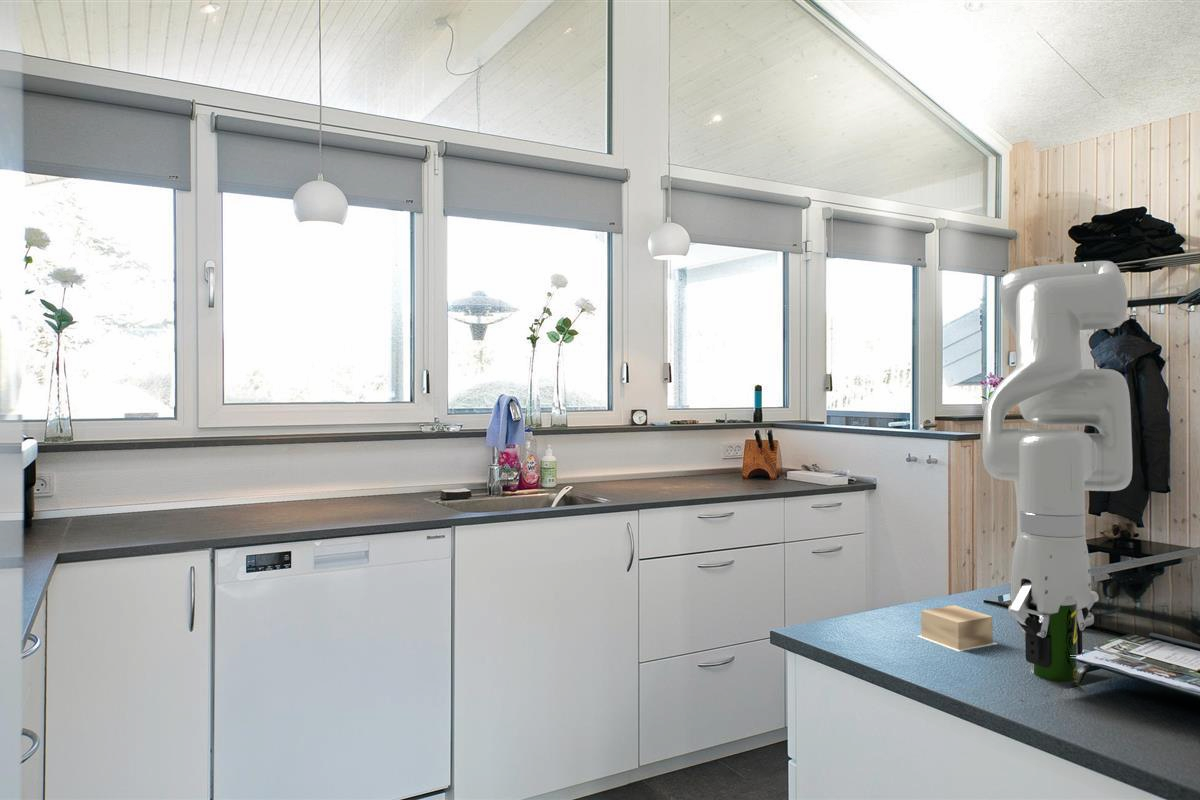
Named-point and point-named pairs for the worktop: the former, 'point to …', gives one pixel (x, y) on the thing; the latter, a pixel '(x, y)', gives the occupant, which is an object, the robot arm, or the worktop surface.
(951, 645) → the oak block
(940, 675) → the worktop surface
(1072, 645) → the beer can
